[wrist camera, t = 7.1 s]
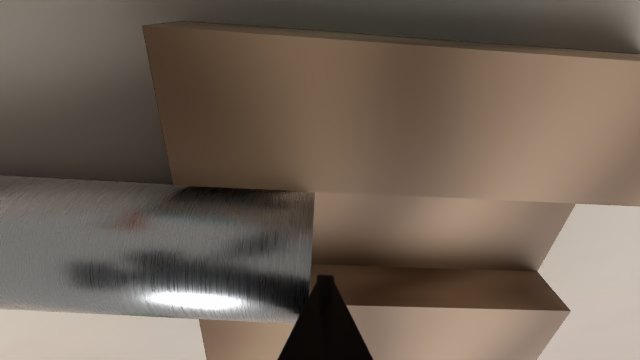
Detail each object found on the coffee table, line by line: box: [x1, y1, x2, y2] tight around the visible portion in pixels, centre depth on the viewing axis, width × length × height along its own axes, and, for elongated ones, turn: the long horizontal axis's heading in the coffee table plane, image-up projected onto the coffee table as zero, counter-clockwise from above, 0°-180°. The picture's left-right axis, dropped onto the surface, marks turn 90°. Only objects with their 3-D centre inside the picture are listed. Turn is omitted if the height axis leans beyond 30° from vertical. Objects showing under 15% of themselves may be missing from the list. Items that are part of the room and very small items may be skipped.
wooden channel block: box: [142, 21, 640, 360], centre depth 11 cm, size 14×13×2 cm
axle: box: [0, 175, 315, 324], centre depth 10 cm, size 14×4×4 cm, turn 87°
